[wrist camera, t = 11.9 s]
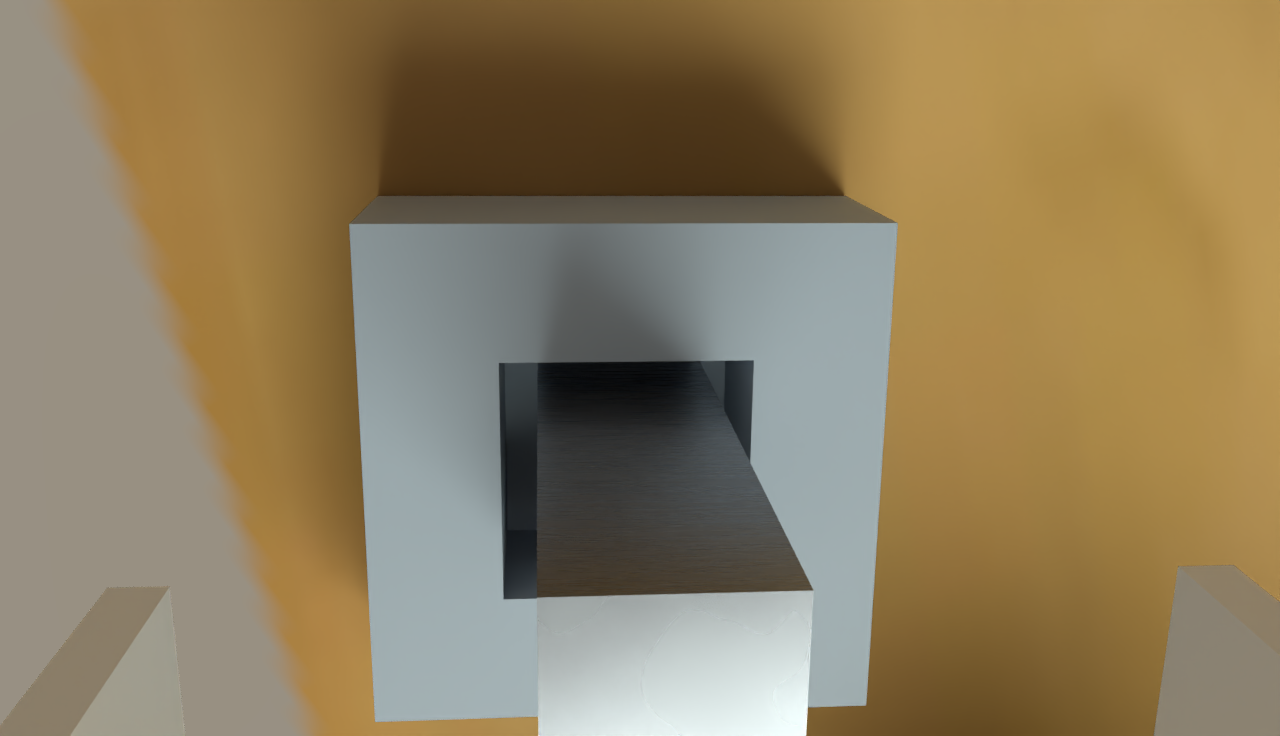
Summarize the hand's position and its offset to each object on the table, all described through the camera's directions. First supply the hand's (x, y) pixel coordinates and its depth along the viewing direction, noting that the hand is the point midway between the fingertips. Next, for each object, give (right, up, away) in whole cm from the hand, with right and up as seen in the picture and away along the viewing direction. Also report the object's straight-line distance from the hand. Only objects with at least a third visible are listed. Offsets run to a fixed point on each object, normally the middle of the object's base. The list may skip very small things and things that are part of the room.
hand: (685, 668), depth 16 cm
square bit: (-1, +3, +11) cm, 11 cm away
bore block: (-1, +3, +11) cm, 12 cm away
